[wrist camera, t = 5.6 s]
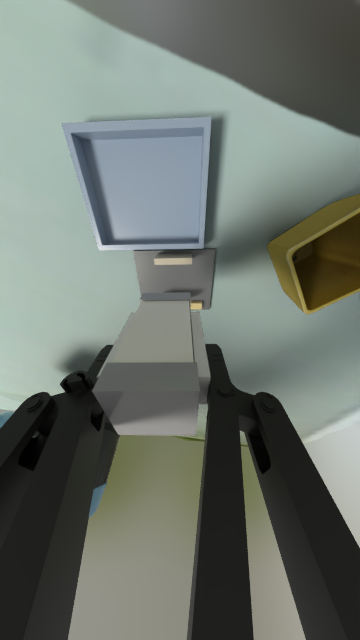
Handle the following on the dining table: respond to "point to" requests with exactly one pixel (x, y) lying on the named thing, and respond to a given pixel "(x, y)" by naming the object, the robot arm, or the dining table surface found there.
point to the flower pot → (320, 256)
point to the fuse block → (177, 273)
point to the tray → (143, 180)
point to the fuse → (153, 371)
